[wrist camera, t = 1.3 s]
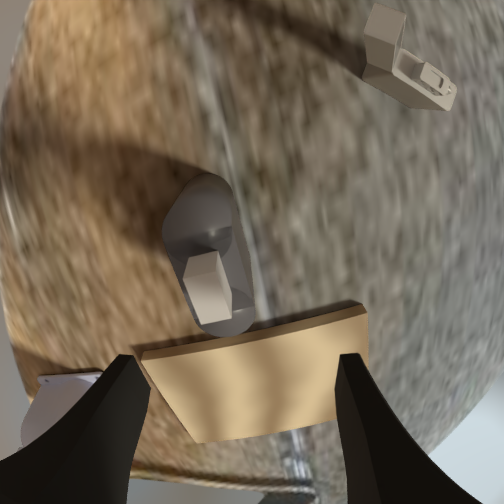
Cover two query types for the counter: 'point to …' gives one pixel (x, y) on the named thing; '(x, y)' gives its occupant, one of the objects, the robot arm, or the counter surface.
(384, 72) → the lighter
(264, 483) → the counter surface
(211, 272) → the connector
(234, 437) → the birch board
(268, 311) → the counter surface
